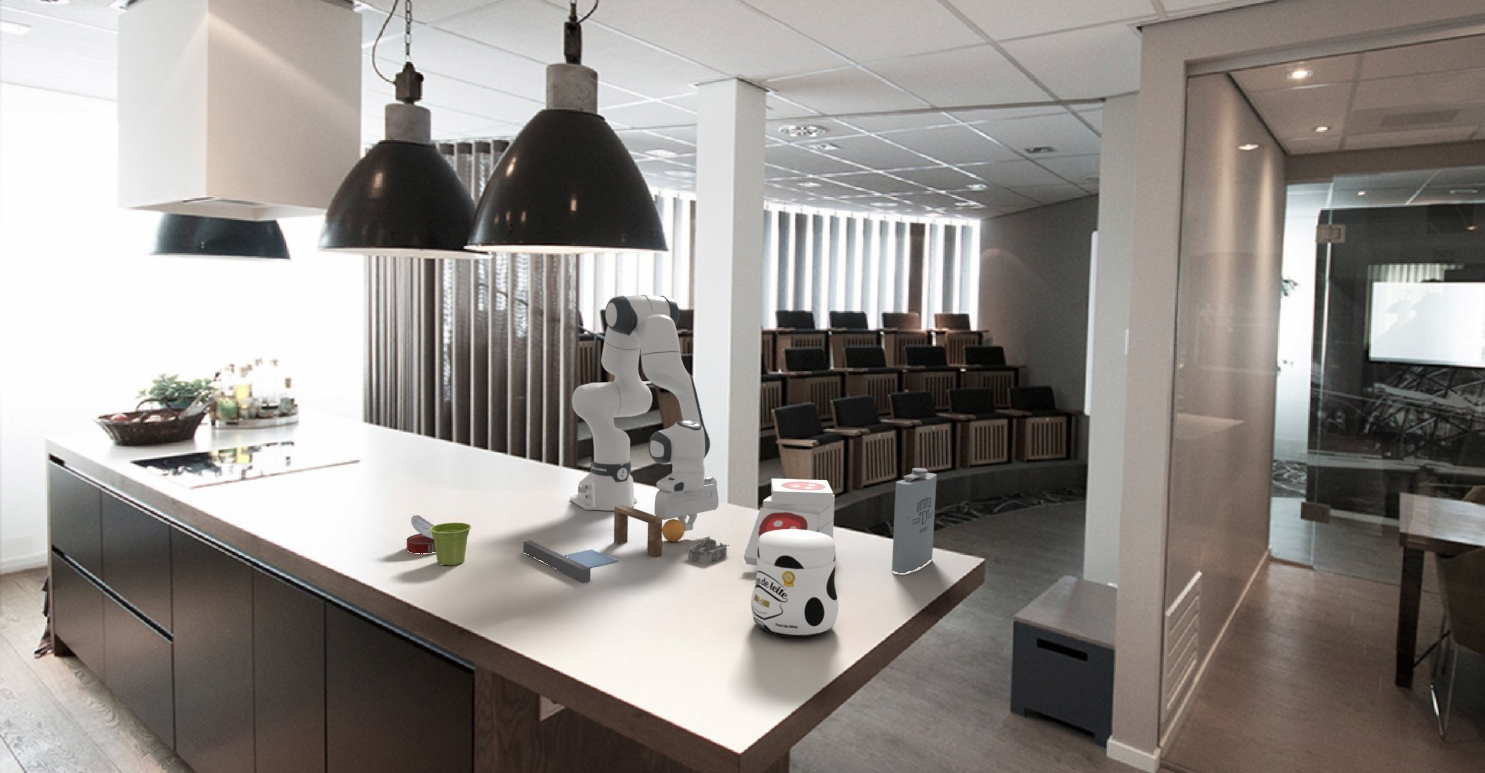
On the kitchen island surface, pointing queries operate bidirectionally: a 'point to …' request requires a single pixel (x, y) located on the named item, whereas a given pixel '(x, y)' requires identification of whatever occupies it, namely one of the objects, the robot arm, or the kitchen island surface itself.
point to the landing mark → (591, 558)
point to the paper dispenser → (793, 510)
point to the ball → (673, 530)
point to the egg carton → (707, 551)
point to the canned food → (421, 537)
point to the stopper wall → (557, 561)
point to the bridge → (653, 521)
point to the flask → (914, 520)
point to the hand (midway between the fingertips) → (687, 530)
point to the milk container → (795, 583)
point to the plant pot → (450, 542)
